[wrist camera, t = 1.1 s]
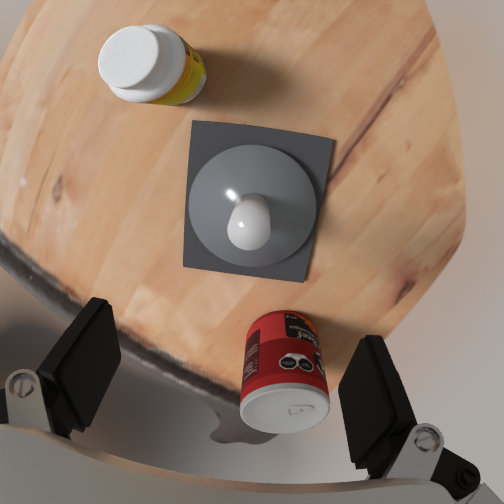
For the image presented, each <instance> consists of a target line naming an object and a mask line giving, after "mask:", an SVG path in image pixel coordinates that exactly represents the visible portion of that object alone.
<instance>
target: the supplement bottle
mask: <svg viewBox="0 0 504 504" xmlns="http://www.w3.org/2000/svg"><path fill="white" fill-rule="evenodd" d="M98 68H99V72H100V75H101V77H102V78H103V80H104V81H105V82H106V83H107V84H108V85H109V87H110V89H111V90H112V91H113V92H114V94H116V95H117V96H118V97H120V98H121V99H123V100H126V101H129V102H135V103H148V104H158V105H168V106H175V105H181V104H184V103H187V102H188V101H190V100H192V99H193V98H194V97H196V96H197V95H198V94H199V92H200V91H201V90H202V88H203V86H204V84H205V81H206V77H207V69H206V64H205V62H204V60H203V58H202V57H201V56H200V55H199V54H198V52H196V51H195V50H194V49H193V48H192V47H191V46H190V45H189V44H188V43H187V42H186V41H184V40H183V39H182V38H181V37H180V36H179V35H178V34H177V33H175V32H174V31H173V30H171V29H169V28H167V27H165V26H162V25H157V24H148V25H142V26H129V27H125V28H123V29H121V30H119V31H117V32H116V33H114V34H113V35H112V36H111V37H110V38H109V39H108V40H107V41H106V42H105V44H104V46H103V47H102V49H101V52H100V55H99V59H98Z"/></svg>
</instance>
